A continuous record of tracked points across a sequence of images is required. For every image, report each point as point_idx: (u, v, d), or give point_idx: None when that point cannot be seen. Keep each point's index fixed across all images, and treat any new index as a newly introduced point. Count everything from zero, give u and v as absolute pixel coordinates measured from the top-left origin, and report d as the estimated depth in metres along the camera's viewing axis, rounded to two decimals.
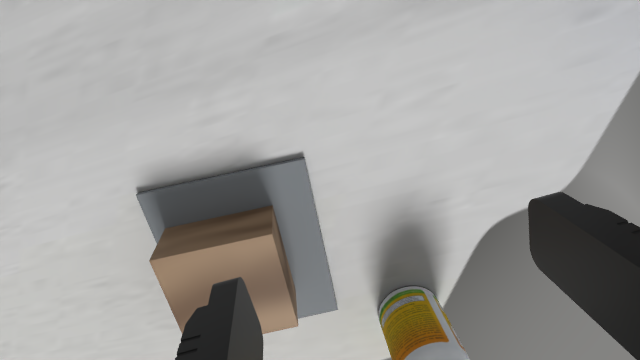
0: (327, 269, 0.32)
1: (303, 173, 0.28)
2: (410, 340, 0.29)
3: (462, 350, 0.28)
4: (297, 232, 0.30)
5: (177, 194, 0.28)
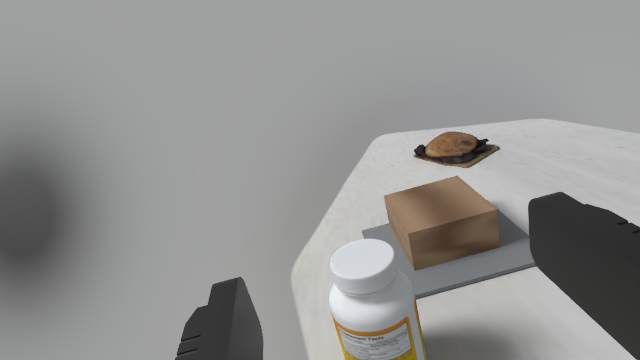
0: (441, 287, 0.33)
1: None
2: None
3: (405, 312, 0.23)
4: (477, 263, 0.35)
5: None
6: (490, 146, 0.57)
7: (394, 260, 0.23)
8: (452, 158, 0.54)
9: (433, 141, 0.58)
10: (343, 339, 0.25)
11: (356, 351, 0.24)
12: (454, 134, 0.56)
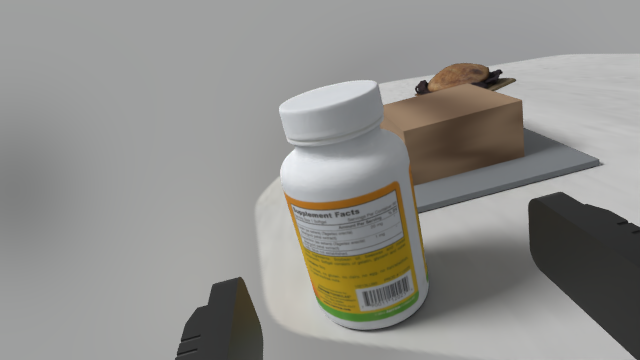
0: (447, 198, 0.25)
1: (578, 161, 0.25)
2: None
3: (394, 173, 0.15)
4: (496, 173, 0.26)
5: None
6: (504, 79, 0.48)
7: (377, 91, 0.15)
8: None
9: (437, 74, 0.50)
10: (300, 227, 0.16)
11: (318, 241, 0.16)
12: (462, 64, 0.48)
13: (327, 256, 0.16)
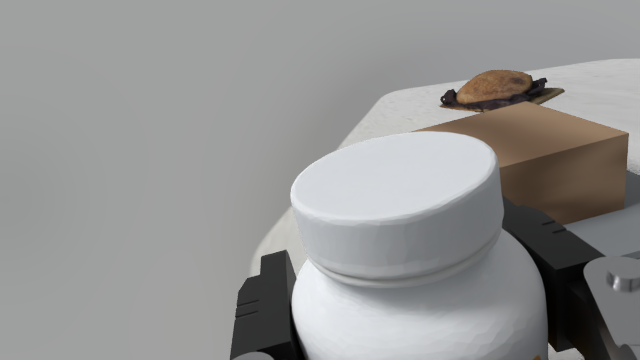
0: None
1: None
2: None
3: (535, 342, 0.07)
4: (590, 235, 0.19)
5: None
6: (550, 89, 0.40)
7: (498, 169, 0.07)
8: (496, 101, 0.38)
9: (468, 83, 0.42)
10: None
11: None
12: (499, 71, 0.40)
13: None
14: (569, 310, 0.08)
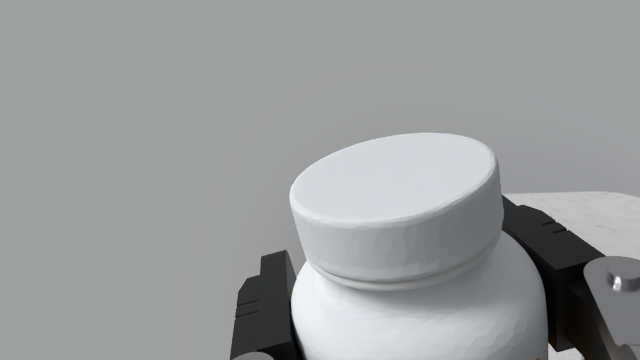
0: None
1: None
2: None
3: (535, 345, 0.07)
4: None
5: None
6: None
7: (498, 171, 0.07)
8: None
9: None
10: None
11: None
12: None
13: None
14: (568, 311, 0.08)
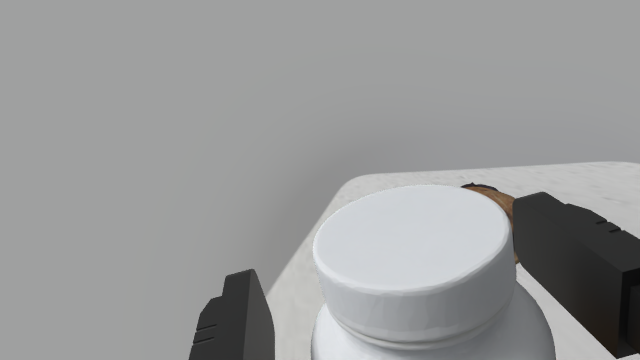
0: None
1: None
2: None
3: None
4: None
5: None
6: None
7: (511, 234, 0.07)
8: None
9: None
10: None
11: None
12: None
13: None
14: (634, 316, 0.08)
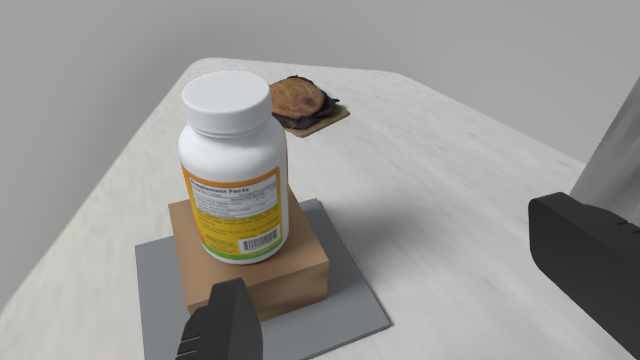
0: None
1: (372, 325, 0.24)
2: None
3: (277, 161, 0.19)
4: (293, 331, 0.24)
5: (323, 222, 0.31)
6: (339, 109, 0.44)
7: (269, 96, 0.18)
8: (286, 120, 0.40)
9: (270, 88, 0.43)
10: (195, 194, 0.20)
11: (212, 207, 0.20)
12: (297, 85, 0.42)
13: (218, 218, 0.20)
14: None
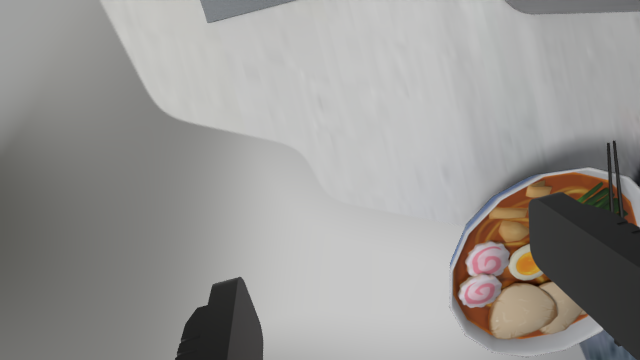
0: (254, 9, 0.35)
1: None
2: None
3: None
4: None
5: None
6: None
7: None
8: None
9: None
10: None
11: None
12: None
13: None
14: None
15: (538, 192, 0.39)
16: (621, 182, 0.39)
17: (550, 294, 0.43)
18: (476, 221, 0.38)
